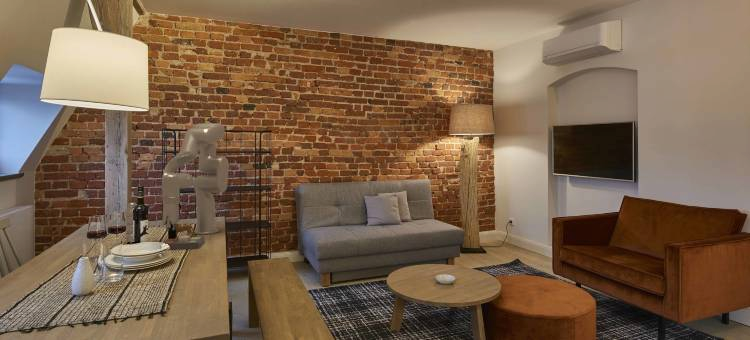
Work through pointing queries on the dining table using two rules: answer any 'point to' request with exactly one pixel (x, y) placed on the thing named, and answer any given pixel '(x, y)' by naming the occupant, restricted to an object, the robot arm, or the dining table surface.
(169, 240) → the terracotta key
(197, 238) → the sage key
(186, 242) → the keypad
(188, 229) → the lion figurine
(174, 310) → the dining table surface
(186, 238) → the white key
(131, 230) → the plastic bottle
